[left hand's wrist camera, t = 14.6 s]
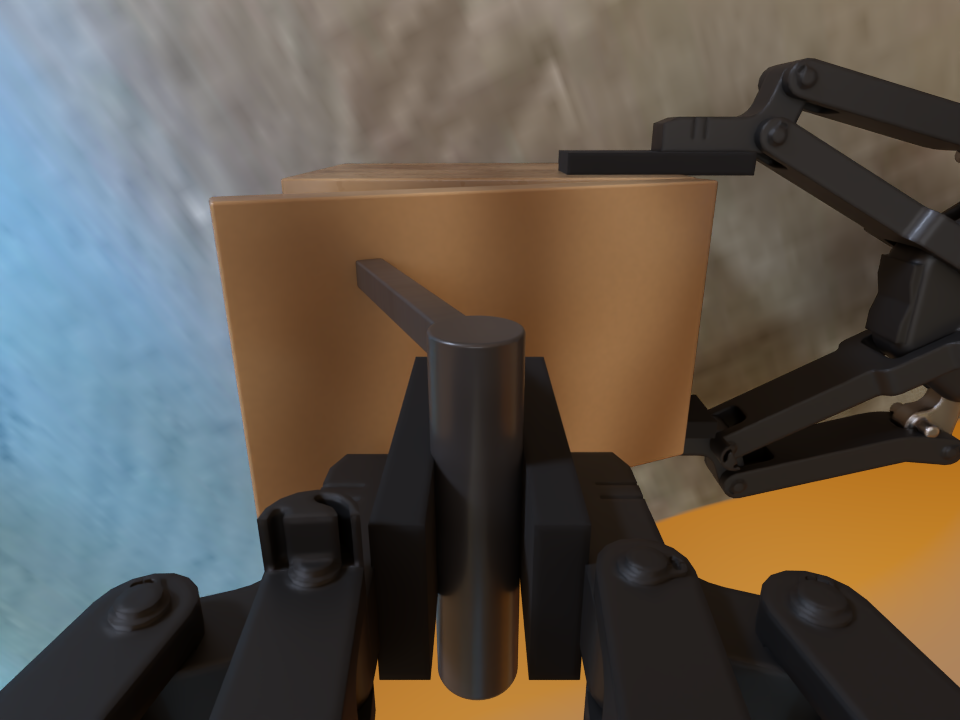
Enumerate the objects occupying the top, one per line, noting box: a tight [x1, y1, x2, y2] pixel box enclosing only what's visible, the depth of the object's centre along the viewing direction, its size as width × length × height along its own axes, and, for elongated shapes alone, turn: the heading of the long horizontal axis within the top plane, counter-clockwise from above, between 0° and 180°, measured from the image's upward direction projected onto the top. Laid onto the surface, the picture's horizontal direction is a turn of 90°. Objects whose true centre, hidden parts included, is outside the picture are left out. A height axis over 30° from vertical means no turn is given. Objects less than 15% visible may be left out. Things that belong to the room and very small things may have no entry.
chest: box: [281, 163, 696, 194], centre depth 26 cm, size 14×10×10 cm
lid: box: [209, 178, 718, 700], centre depth 15 cm, size 14×10×9 cm, turn 91°
